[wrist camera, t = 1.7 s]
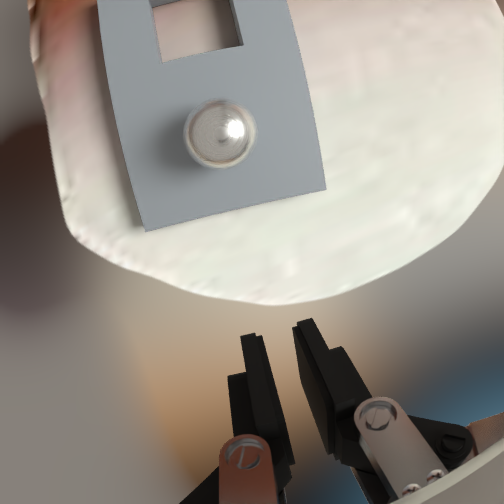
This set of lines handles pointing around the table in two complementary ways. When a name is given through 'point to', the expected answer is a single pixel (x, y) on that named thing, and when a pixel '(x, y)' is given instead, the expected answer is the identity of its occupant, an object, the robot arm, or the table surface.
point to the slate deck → (199, 90)
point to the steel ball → (220, 133)
